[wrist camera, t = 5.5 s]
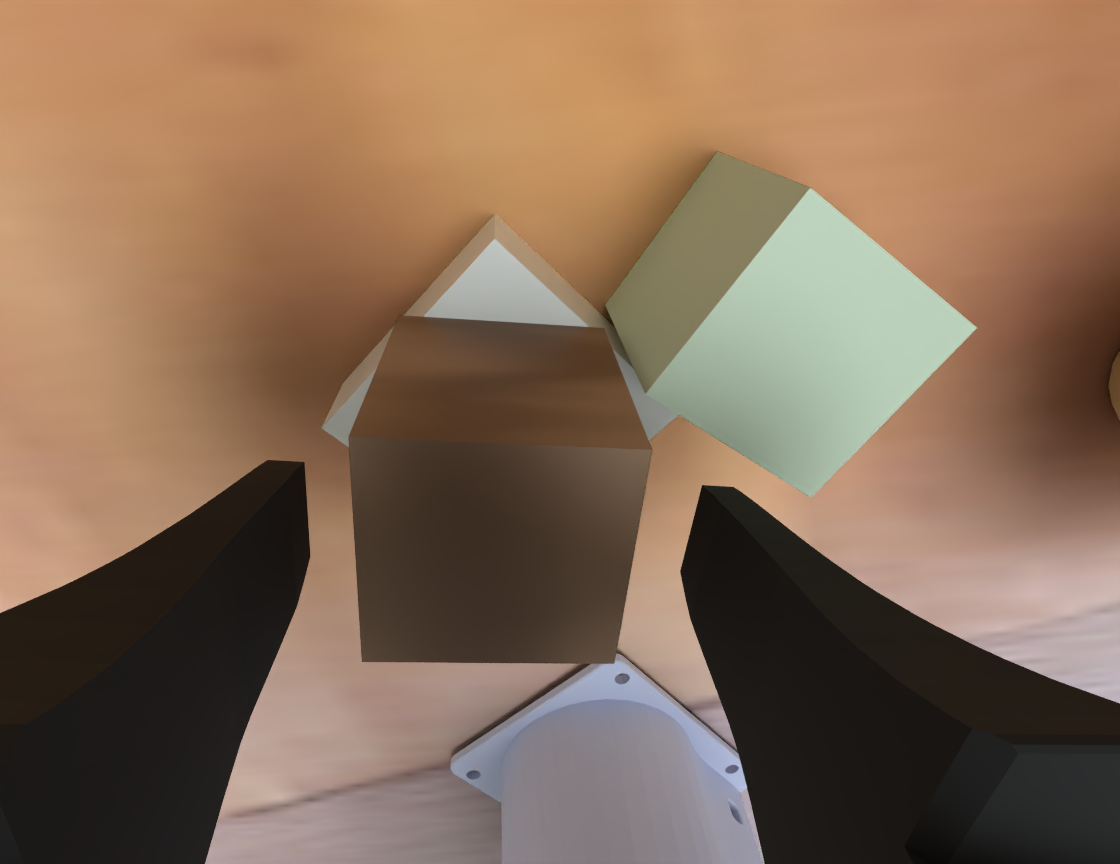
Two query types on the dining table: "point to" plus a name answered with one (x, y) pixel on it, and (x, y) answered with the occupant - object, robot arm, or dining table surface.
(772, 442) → the sage block
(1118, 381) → the ice cream cone
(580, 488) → the walnut block
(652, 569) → the dining table surface
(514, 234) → the ceramic slab
